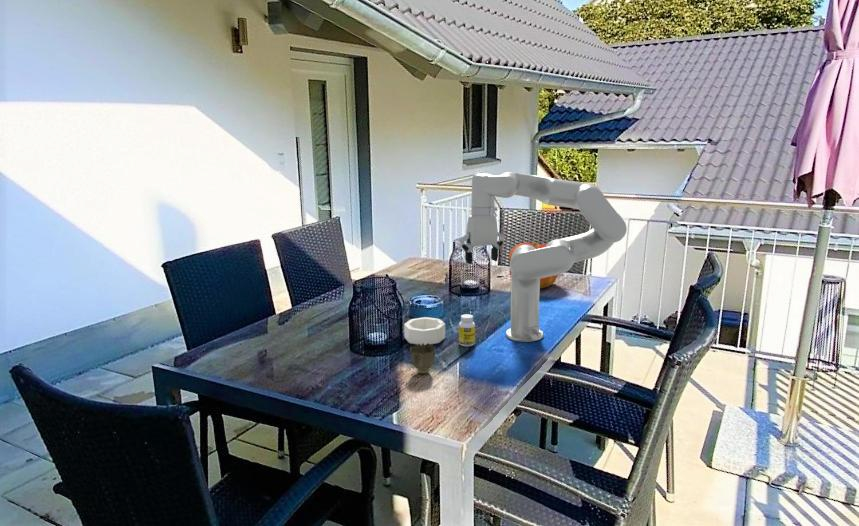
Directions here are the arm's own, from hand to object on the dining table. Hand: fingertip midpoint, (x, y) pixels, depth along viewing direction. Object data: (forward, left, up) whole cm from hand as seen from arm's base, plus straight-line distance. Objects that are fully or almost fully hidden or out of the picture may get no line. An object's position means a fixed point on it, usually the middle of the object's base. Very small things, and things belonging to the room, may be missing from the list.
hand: (481, 261), depth 199 cm
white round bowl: (+5, +19, -26) cm, 33 cm away
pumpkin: (+46, -47, -26) cm, 70 cm away
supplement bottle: (-6, +8, -26) cm, 28 cm away
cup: (-22, +29, -26) cm, 45 cm away
